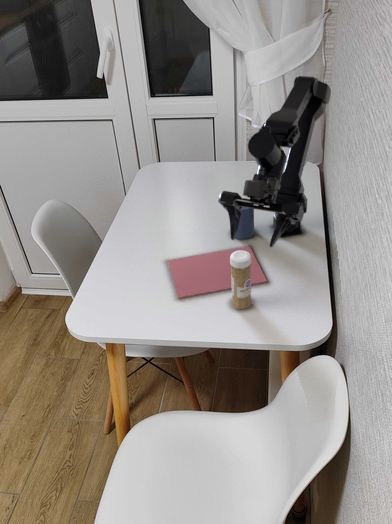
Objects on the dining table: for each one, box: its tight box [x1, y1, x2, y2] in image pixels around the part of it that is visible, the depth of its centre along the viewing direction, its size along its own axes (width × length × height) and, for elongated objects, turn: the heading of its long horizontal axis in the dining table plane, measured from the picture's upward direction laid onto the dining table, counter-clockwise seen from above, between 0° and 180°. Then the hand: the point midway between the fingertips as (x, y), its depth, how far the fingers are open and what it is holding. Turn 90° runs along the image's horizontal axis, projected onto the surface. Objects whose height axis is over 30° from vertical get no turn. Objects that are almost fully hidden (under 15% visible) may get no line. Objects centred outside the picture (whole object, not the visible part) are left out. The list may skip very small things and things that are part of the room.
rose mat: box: [167, 245, 268, 300], centre depth 135 cm, size 22×16×1 cm
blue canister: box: [235, 197, 255, 240], centre depth 143 cm, size 6×6×9 cm
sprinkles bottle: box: [230, 250, 252, 310], centre depth 120 cm, size 5×5×13 cm
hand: (251, 243), depth 120 cm, fingers open, 9 cm apart
